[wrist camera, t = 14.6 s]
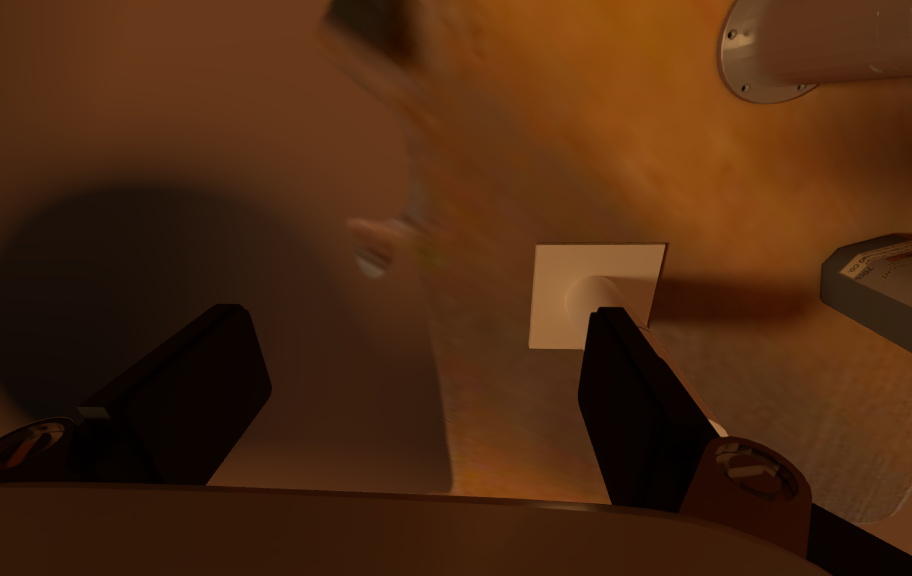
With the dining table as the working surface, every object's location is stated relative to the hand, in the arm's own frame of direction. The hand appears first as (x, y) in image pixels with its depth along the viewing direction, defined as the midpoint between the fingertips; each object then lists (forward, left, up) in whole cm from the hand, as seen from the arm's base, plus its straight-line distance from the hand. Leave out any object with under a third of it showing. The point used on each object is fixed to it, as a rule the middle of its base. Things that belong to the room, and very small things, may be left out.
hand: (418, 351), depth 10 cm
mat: (-17, +18, -38) cm, 46 cm away
